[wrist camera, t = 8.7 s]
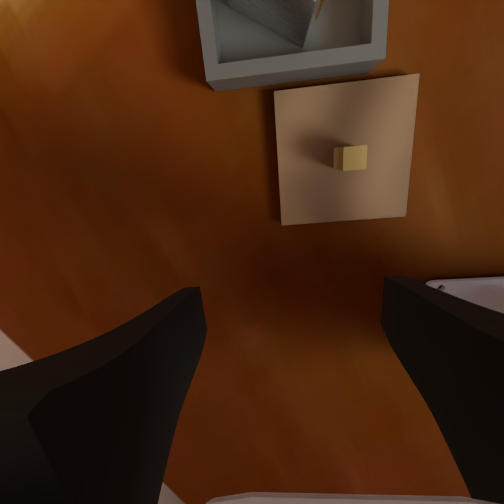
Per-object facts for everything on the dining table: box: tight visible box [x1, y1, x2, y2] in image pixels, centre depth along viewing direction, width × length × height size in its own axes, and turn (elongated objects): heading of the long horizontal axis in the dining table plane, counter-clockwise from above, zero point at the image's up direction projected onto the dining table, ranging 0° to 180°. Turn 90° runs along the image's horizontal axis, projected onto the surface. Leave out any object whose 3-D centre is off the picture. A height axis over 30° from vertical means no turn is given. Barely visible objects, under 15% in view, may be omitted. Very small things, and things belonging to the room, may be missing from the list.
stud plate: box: [274, 74, 419, 225], centre depth 16 cm, size 8×8×3 cm
